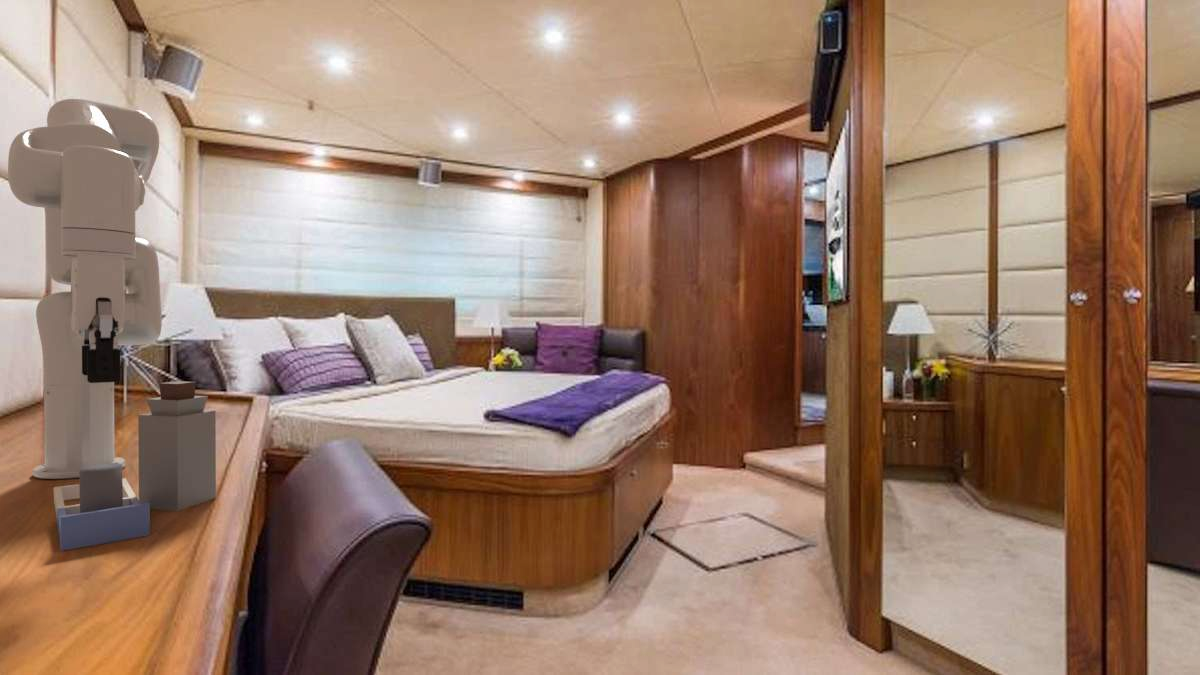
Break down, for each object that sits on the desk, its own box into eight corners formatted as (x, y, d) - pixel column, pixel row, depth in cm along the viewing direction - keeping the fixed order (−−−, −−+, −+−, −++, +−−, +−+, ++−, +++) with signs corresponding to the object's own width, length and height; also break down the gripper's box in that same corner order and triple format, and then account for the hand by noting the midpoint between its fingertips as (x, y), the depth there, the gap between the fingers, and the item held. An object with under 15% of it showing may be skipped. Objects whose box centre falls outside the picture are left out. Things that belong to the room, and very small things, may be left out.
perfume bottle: (177, 510, 90) (177, 385, 90) (139, 507, 92) (138, 384, 91) (215, 497, 97) (215, 381, 96) (179, 494, 98) (178, 379, 98)
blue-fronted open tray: (53, 500, 94) (53, 474, 94) (125, 490, 100) (125, 465, 100) (61, 551, 74) (60, 517, 74) (149, 535, 80) (149, 504, 80)
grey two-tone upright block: (79, 527, 83) (77, 467, 82) (120, 520, 86) (120, 462, 85) (81, 536, 79) (80, 474, 79) (125, 528, 82) (124, 468, 82)
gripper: (58, 247, 85) (59, 373, 86) (64, 239, 72) (65, 387, 73) (127, 252, 90) (128, 371, 91) (144, 245, 77) (145, 383, 78)
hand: (100, 378), depth 82 cm, fingers open, 9 cm apart
